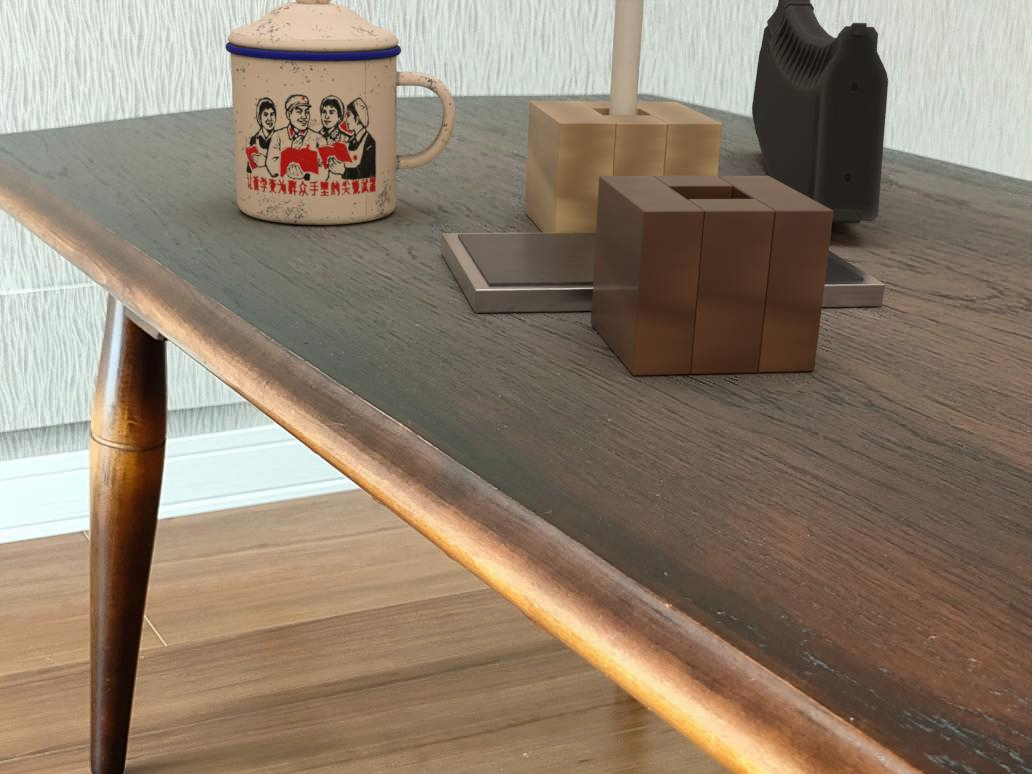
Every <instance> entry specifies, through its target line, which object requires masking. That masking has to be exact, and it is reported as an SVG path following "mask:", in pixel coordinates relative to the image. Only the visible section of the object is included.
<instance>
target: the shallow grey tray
mask: <svg viewBox="0 0 1032 774" xmlns="http://www.w3.org/2000/svg"><path fill="white" fill-rule="evenodd" d="M440 241H441V242H440V243H441V244H440V245H441V246H440V247H441V249H440V251H441V252H440V253H441V255H442V257H443V259H444V261H445V262H446V264H447V265H448V267H449V269H450V271H451V273H452V275H453V277H454V278H455V280H456V282H457V284H458V286H459V287H460V289H461V291H462V293H463V294H464V296H465V297H466V300H467V301H468V303H469V305H470V306H471V308H472V310H473V312H474V314H489V313H490V314H491V313H493V314H494V313H548V312H549V313H551V312H553V313H554V312H555V313H557V312H558V313H559V312H561V313H562V312H592V296H593V278H594V260H595V242H596V232H546V233H543V232H451V233H450V232H443V233H441V240H440ZM885 286H886V284H885V283H883V282H882V281H880V280H879V279H877V278H875V277H873V276H872V275H871V274H869V273H867V272H865V271H864V270H862V269H861V268H859V267H858V266H856V265H854V264H852V263H851V262H849V261H847V260H846V259H844V258H842V257H841V256H839V255H837V254H836V253H834V252H832V251H831V250H829V252H828V260H827V269H826V277H825V285H824V293H823V301H822V308H862V307H863V308H864V307H866V308H868V307H871V308H872V307H882V306H883V301H884V300H883V299H884V292H885Z"/></svg>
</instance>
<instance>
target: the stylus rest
mask: <svg viewBox="0 0 1032 774" xmlns="http://www.w3.org/2000/svg"><path fill="white" fill-rule="evenodd" d="M832 219H833V210H831V209H829V208H828V207H826V206H824V205H822V204H820V203H818V202H816V201H814V200H813V199H811V198H809V197H807V196H805V195H803V194H801V193H800V192H798V191H796V190H794V189H792V188H790V187H788V186H787V185H785V184H783V183H781V182H779V181H777V180H775V179H773V178H772V177H770V175H718V176H600V177H599V189H598V207H597V225H596V242H595V260H594V278H593V296H592V311H591V317H590V318H591V319H590V325H591V326H592V327H593V328H594V329H595V331H596V332H597V334H599V336H600V337H601V338H602V340H604V342H605V343H606V344H607V345H608V347H609V348H610V349H611V351H613V353H614V354H615V356H616V357H617V358H618V359H619V360H620V361H621V363H622V364H623V365H624V366H625V367H626V369H627V370H628V371H629V373H631V375H632V376H671V375H672V376H673V375H690V374H691V375H707V374H709V375H710V374H711V375H712V374H716V375H717V374H753V373H754V374H755V373H791V372H792V373H793V372H794V373H795V372H797V373H798V372H814V371H815V367H816V366H815V365H816V359H817V358H816V357H817V350H818V343H819V342H818V341H819V333H820V325H821V316H822V310H823V307H822V301H823V293H824V285H825V277H826V269H827V260H828V252H829V251H830V242H831V236H832V235H831V234H832V228H833V222H832Z"/></svg>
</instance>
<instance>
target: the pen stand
mask: <svg viewBox="0 0 1032 774" xmlns="http://www.w3.org/2000/svg"><path fill="white" fill-rule="evenodd" d="M609 105H610V100H529V101H528V123H527V124H528V125H527V129H528V130H527V152H526V153H527V154H526V155H527V156H526V180H525V181H526V183H525V209H524V211H525V212H524V213H525V214H526V216H528V218H529V219H530V220H531V221H532V222H533V223H534V224H535V226H536V227H537V228H538V229H539V230H540V231H541V233H546V232H596V225H597V207H598V189H599V177H600V176H719V168H720V167H719V166H720V156H721V146H722V145H721V144H722V134H723V123H721V122H720V121H717V120H715V119H713V118H711V117H709V116H707V115H705V114H703V113H701V112H700V111H697V110H695V109H693V108H691V107H688V106H687V105H685V104H682V103H680V102H678V101H641V100H640V101H638V100H637V111H636V115H609Z"/></svg>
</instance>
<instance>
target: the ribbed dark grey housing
mask: <svg viewBox="0 0 1032 774" xmlns="http://www.w3.org/2000/svg"><path fill="white" fill-rule="evenodd" d="M814 11H815V8H814V5H813V4H812V3H811V0H778V1H777V6H776V8H775V10H774V12H773V13H772V15H770V17H769V18H768V19H767V20H766V23H767V26H765V28H763V32H762V33H763V34H762V39H761V44H760V45H761V46H760V49H759V52H758V53H759V54H758V59H757V67H756V75H755V81H754V91H753V97H752V104H751V116H752V121H753V126H754V131H755V135H756V137H757V141H758V145H759V147H760V151H761V154H762V158H763V161H764V165H765V167H766V171H767V172H768V176H770V177H772V178H773V179H775V180H777V181H779V182H781V183H783V184H785V185H787V186H788V187H790V188H792V189H794V190H796V191H798V192H800V193H801V194H803V195H805V196H807V197H809V198H811V199H813V200H814V201H816V202H818V203H820V204H822V205H824V206H826V207H828V208H829V209H831V210H833V219H832V223H839V224H841V223H842V224H859V223H861V222H862V221H864V222H865V221H867V222H873V221H875V220H876V219H877V217H878V216H879V210H880V209H879V208H880V207H879V206H880V196H881V181H882V169H883V157H884V156H883V154H884V142H885V131H886V116H887V103H888V91H889V89H888V88H889V77H888V73H887V70H886V68H885V66H884V64H883V62H882V59H881V57H880V55H879V52H878V43H879V42H878V41H879V40H878V39H879V33H878V31H877V30H876V28H875V27H874V26H868V23H867V22H852V23H851V25H845V26H844V27H843V28H842V29H841V30H840V32H839V33H838V34H837V36H836V37H833V36H832V35H831V34H829V33H828V32H827V31H826V30H825V28H824V27H823V26H822V25H821V23H819V20H818V18H817V16H816V14H815V12H814Z"/></svg>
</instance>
